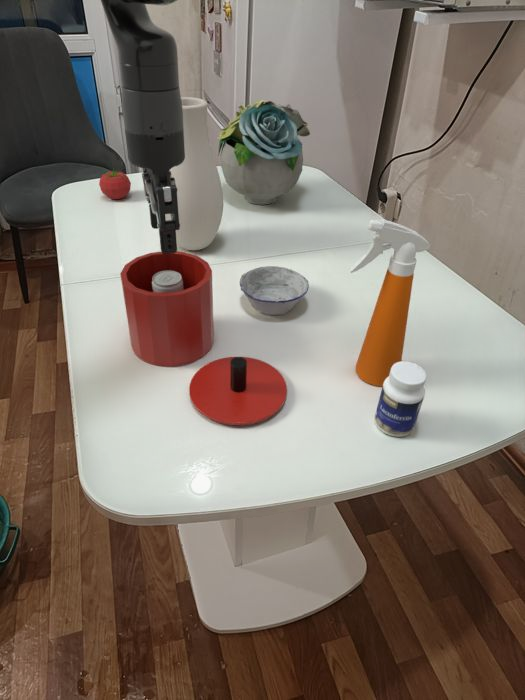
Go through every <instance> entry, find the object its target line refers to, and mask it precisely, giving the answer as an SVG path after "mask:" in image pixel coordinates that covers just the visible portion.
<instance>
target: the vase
mask: <svg viewBox="0 0 525 700" xmlns="http://www.w3.org/2000/svg"><path fill="white" fill-rule="evenodd" d="M181 101H182V109H183V128H184V148H185V159H184V161H183V163H181V164H180V165H178V166H174V167H173V168H171V169H170V171H171V174H172V177H174V178H175V183H176V188H177V200H178V214H179V223H180V227H179V228H180V229H179V230H176V242H177V247H179V248H180V249H182V250H186V251H200V250H203V249H205V248H207V247H209V246H210V245H211V244H212V242H214V239H215V238H216V236H217V235H218V231H219V230H220V226H221V223H222V219H223V213H224V192H223V187H222V181H221V177H220V174H219V171H218V166H217V163H216V160H215V157H214V153H213V150H212V146H211V141H210V136H209V129H208V101H206V99H202V98H199V97H192V96H181ZM165 218H166V221H167V220H171V214H165Z"/></svg>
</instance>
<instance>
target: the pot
mask: <svg viewBox="0 0 525 700" xmlns="http://www.w3.org/2000/svg"><path fill="white" fill-rule="evenodd" d="M161 271H175V272H178V273H179V274H180V275H181V276H182V280H183V289H184V290H183V291H177V292H170V293H158V292H153V288H152V281H153V279H152V278H153V276H154V275H155V274H156V273H158V272H161ZM120 280H121V286H122V288H121V289H122V295H123V301H124V308H125V314H126V319H127V320H126V321H127V326H128V333H129V340H130V344H131V349H132V352H133V353H134V355H135V356H136V357H137V358H139V359H140V360H141V361H143V362H145V363H148V364H150V365H153V366H157V367H167V368H168V367H169V368H170V367H182V366H186V365H189V364H192V363H195V362H197V361H198V360H200V359H202V358H204V357H205V356H206V355H207V354H208V353H209V351H210V350H211V349H212V347H213V345H214V344H213V343H214V339H215V338H214V337H215V334H214V333H215V331H214V299H213V298H214V297H213V295H214V294H213V293H214V292H213V290H214V289H213V270H212V268H211V266H210V264H209V262H208V261H207V260H205V259H203V258H202V257H200V256H198V255H196V254H193V253H189V252H186V251H178V250H177V252H176V253H171V254H163V253H162V252H161V251H155V252H149V253H146V254H143V255H140V256H139V255H138V256H137V257H135V258H133V259H131V260H130V261H129V262H127V263H126V264H125V265H124V267H122V269H121V271H120Z"/></svg>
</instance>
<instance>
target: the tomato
mask: <svg viewBox="0 0 525 700" xmlns="http://www.w3.org/2000/svg"><path fill="white" fill-rule="evenodd" d="M98 183H99V184H98V186H99V188H100V191H101V193H102V194H103V195H104V196H106V197H107V198H108V199H111V200H112V199H113V200H119V199H120V200H121V199H123V198H126V197H127V196H128V194H129V193H130V191H131V188H132V187H131V186H132V185H131V184H132V183H131V181H130V178H129V176H128V175H127V174H126V173H124V172H122V171H117V170H116V171H115V168H113V169H112V171H108V172H104V173H102V174H101V176H100V178H99V182H98Z"/></svg>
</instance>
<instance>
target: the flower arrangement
mask: <svg viewBox="0 0 525 700" xmlns="http://www.w3.org/2000/svg"><path fill="white" fill-rule="evenodd" d="M238 109H239V111H236V112H235V113H236V115H235V118H234V119H233V120H232V121H229V122H228V125H227V126H226V127H224V128H221V129H220V130H221V131H220V132H219V137H216V139H217V140H219V144H218V153H217V154H218V155H217V156H218V157H219V155H220V166H221V171H222V175H223V178H224V180H225V183H226V184H227V185H228V186H229V187H230V188H232V189H233V190H234V191H235V192H237V193H238V194H239V195H243V197H244V199H245V201H247V202H248V203H251V204H252V205H253V204H254V205H263V206H264V205H270V204H273V203H275V202H276V200H277V199H278V197H280V196H282V195H285V194H286V193H289V191H291V190H292V189H294V188H295V186H296V185H297V183H298V181H299V178H300V177H301V175H302V172H303V166H304V153H303V143H302V141H301V139H300V137H308V136H310V135H311V132H310V129H309V128H308V127H307V126H308V125H309V124H308V122H306V121H304V119H303V117H302V115H301V114H300V112H299V110H297V109H295V108H294V109H293V108H292V106H291V104H290V103H289V104H287V105H285V104H280V103H279V104H278V103H276V102H275V101H273V100H269V101H266V100H265V99H261V100H259V101H256V102H255V103H252V104H251V105H250V104H248V105H247V106H245V107H244V104H243V102H241V103H240V106H238ZM299 136H300V137H299Z"/></svg>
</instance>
